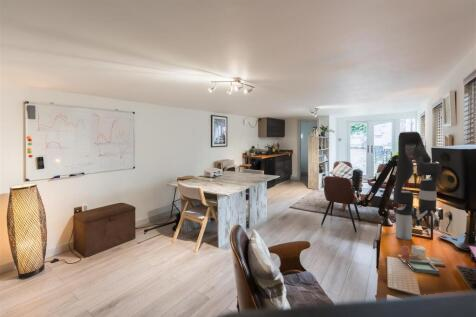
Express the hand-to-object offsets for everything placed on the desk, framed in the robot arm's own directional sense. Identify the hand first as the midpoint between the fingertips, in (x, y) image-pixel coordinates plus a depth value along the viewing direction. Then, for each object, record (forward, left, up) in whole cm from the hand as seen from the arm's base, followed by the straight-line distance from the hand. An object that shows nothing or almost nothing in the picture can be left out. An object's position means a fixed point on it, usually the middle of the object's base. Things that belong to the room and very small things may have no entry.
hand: (426, 226), depth 130 cm
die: (-6, -1, -20) cm, 21 cm away
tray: (+10, -6, -20) cm, 23 cm away
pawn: (+1, -11, -19) cm, 22 cm away
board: (+1, -3, -20) cm, 20 cm away
